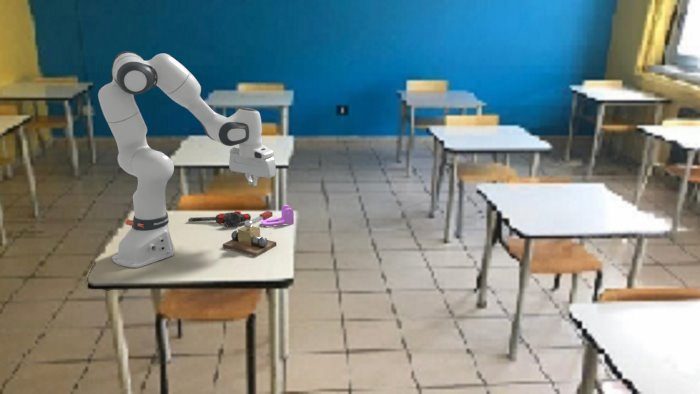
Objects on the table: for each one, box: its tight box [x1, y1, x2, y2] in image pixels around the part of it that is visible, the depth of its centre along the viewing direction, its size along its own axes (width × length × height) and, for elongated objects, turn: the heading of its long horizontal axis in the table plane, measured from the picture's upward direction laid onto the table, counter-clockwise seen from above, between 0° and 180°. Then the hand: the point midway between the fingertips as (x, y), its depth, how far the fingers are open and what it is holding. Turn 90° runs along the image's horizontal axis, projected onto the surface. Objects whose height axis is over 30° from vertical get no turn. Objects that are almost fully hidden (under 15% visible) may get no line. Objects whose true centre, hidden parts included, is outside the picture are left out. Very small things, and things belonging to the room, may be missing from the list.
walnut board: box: [222, 238, 277, 258], centre depth 229 cm, size 12×16×2 cm
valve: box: [187, 210, 252, 228], centre depth 254 cm, size 6×26×15 cm
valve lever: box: [244, 210, 273, 228], centre depth 231 cm, size 14×3×2 cm, turn 150°
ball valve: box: [230, 225, 269, 248], centre depth 227 cm, size 6×15×7 cm, turn 60°
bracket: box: [260, 204, 295, 227], centre depth 251 cm, size 13×6×7 cm, turn 110°
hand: (252, 185), depth 234 cm, fingers closed
